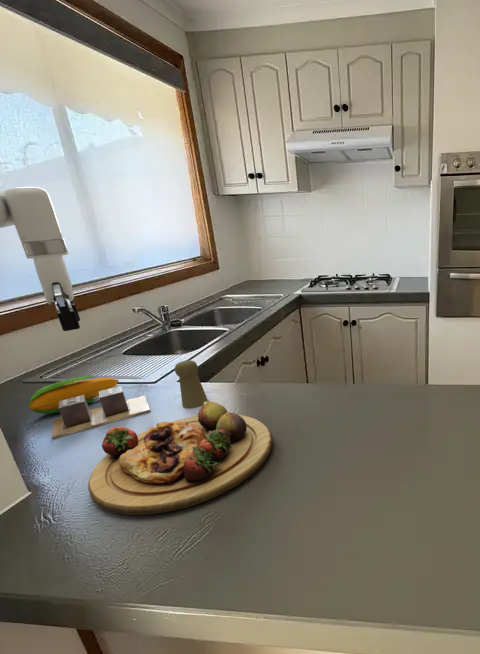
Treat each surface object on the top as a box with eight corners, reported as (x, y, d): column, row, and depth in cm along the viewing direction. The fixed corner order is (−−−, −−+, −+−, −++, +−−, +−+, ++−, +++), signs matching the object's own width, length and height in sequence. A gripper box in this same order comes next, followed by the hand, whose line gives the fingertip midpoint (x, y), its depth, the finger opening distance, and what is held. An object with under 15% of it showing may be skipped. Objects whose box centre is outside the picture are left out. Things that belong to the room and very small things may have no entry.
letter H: (65, 427, 97) (58, 407, 95) (66, 419, 101) (59, 400, 99) (91, 420, 100) (83, 401, 98) (90, 413, 103) (83, 394, 102)
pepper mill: (192, 409, 102) (181, 367, 98) (177, 405, 106) (165, 364, 102) (212, 399, 107) (203, 359, 103) (197, 396, 110) (187, 356, 106)
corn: (20, 387, 104) (109, 362, 117) (31, 414, 107) (117, 387, 120) (25, 396, 99) (118, 370, 112) (37, 424, 102) (126, 395, 115)
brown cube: (105, 416, 101) (98, 397, 99) (104, 409, 105) (98, 390, 103) (128, 410, 103) (122, 391, 102) (127, 403, 107) (121, 385, 106)
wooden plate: (47, 500, 73) (29, 459, 70) (184, 415, 100) (175, 383, 97) (194, 537, 62) (180, 490, 58) (302, 430, 89) (296, 394, 86)
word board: (52, 439, 94) (51, 436, 93) (55, 421, 102) (53, 418, 102) (150, 411, 103) (149, 409, 103) (145, 397, 112) (144, 394, 112)
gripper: (28, 249, 97) (55, 322, 103) (19, 253, 83) (50, 337, 89) (67, 246, 100) (90, 316, 107) (65, 249, 87) (91, 329, 93)
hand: (72, 325), depth 98 cm, fingers open, 9 cm apart
